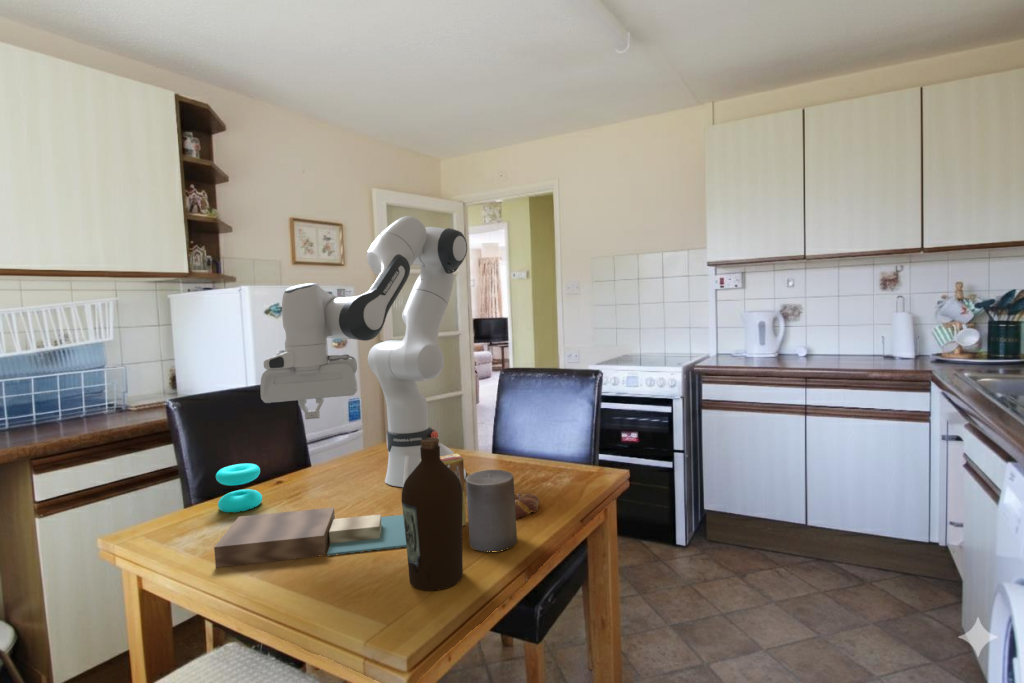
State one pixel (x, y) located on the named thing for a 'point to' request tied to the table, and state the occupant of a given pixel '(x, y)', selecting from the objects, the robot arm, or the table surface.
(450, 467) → the candy box
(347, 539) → the cream block
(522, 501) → the pretzel
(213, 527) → the table surface
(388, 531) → the teal mat
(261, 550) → the walnut board
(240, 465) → the donuts
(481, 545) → the pillar candle
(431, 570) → the olive oil
